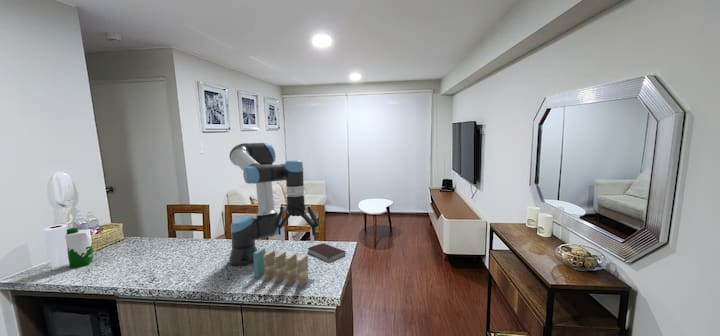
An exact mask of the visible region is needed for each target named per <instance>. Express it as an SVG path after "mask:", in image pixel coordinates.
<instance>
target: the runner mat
mask: <svg viewBox="0 0 720 336" xmlns="http://www.w3.org/2000/svg"><path fill="white" fill-rule="evenodd" d="M249 279H252V280H256V281H262V282H265V283H270V284H276V285H280V286H281V285H282V286H285V287H290V288H295V289H299V290H305V291H306V290H307V289H308V288H309V287H310V286H311V285H312V284H313V283H314V282H315V281H316V279H312V278H308V281H307V282H306V283H305V284H304V285H303V286H302V287H300V286H297V279H296V280H295V281H293V282H292V283H291V284H286V277H285V278H284V279H282V280H281V281H280V282H275V275H274V276H273V277H272V278H270V279H269V280H266V279H265V276H264V274H263V275H261V276H260V277H258V278H256V277H254V274H253V275H251V276H250V277H249Z"/></svg>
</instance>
